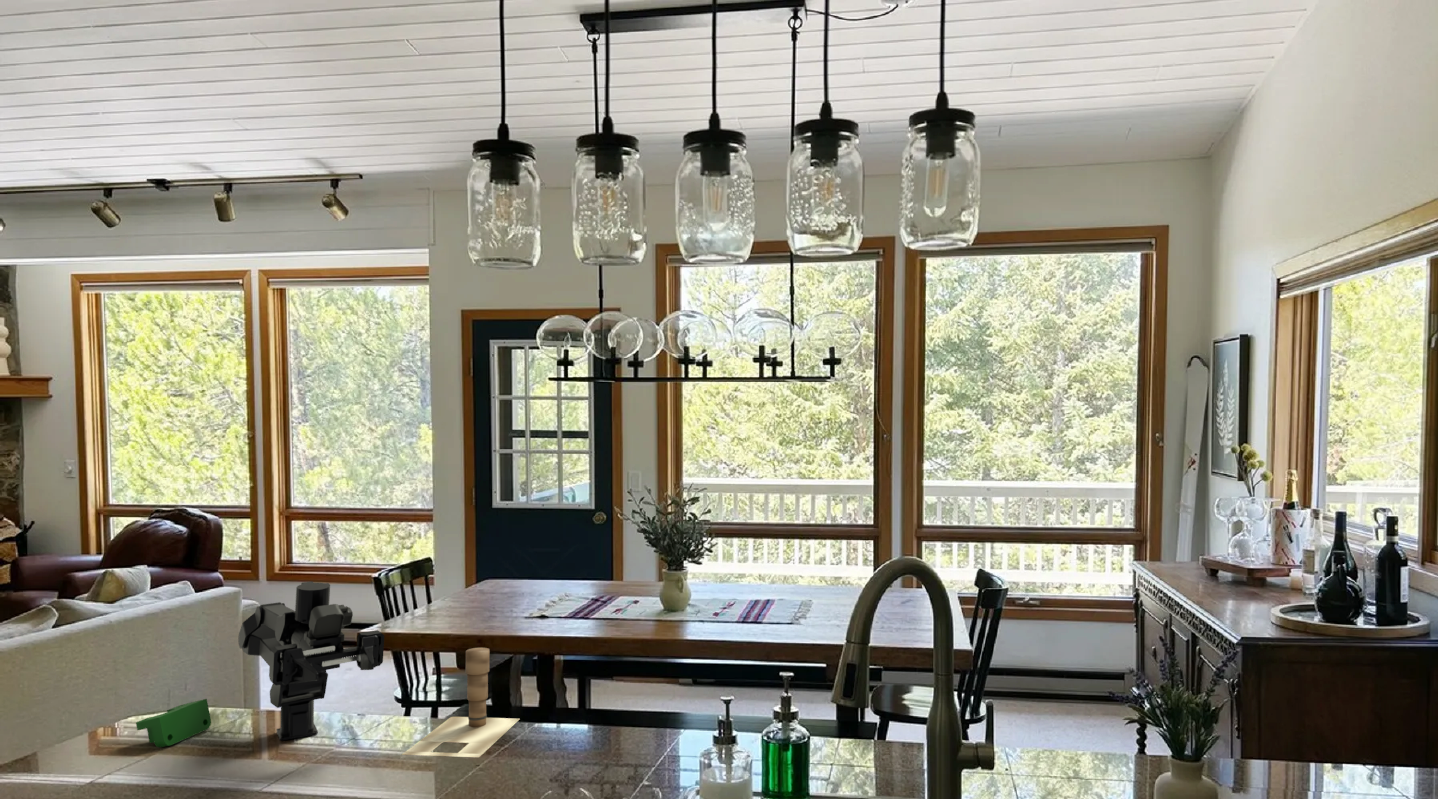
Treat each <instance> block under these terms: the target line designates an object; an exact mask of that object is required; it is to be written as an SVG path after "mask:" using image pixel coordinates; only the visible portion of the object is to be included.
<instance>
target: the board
mask: <svg viewBox="0 0 1438 799" xmlns="http://www.w3.org/2000/svg"><path fill="white" fill-rule="evenodd" d="M519 720H521V719H520V718H510V717H508V718H506V717H486V725H484V726H482V727H470V726H469V719H468V716H450V717H449V718H448V719H447V720H445V721H444V722H443V723H441V724H439V725H438V726H437V727H436V728H434V729H433V730H432V731H431V732H429V733H428V734H427V735H426V736H424V737H422V738H421V739H420V740H419V741H417V742H416V743H415V744H413V745H412V746H410V748H408V749H407V750H406V751H404V752H403V753H402V754H401V755H403V756H421V757H422V756H423V757H424V756H425V757H427V756H428V757H452V758H454V757H455V758H475V759H476V758H477V759H478V758H479V759H480V757H482V755H483V754H485V753H486V752H487V751H488V750H489V749H490V748H491V747H492V746H493V745H494V744H495V743H496V742H497V741H498V740H499V739H500V738H501V737H502V736H504V735H505V734H506V733H507V732H508V731H509V730H510V729H511V728H512V727H513V726H514V725H515V724H516V723H517V722H519ZM442 743H452V744H453V743H455V744H456V743H458V744H459V743H460V744H466V745H465V746H464V747H462V748H461V750H459V751H458V752H434V750H435V749H436V748H438V747H439V746H440V745H441V744H442ZM480 765H481V764H478V765H475V767H479V766H480Z"/></svg>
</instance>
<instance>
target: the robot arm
mask: <svg viewBox="0 0 1438 799" xmlns="http://www.w3.org/2000/svg"><path fill="white" fill-rule="evenodd" d="M330 596H331V583H328V582H326V583H324V582H314V581H304V582H301V584H299V585H297V586H296V589H295V606H294V607H295V608H294V609H292V608H290V607H287V606H286V605H285V603H284V602H283V603H282V602H280V601H279V602H270V603H264V604H263V603H262V604H260V605H258V606H257V607H256V608H255V611H254V613H253V614H252V615H250V616H249V617H248V618H246V619H245V620H244V621H243V622H242V624H241V626H240V629H239V632H238V639H237V640H238V647H239V649H242V652H243V653H244V654H245V655H248V656H255V657H258V656H259V657H261V658H262V659H263V660H264V662H265V663H266V664H267V665H268V666H269V672H268V677H269V681H270V682H271V683H272V685H271V687H270V689H269V700H270V704H271V705H273V706H274V707H275V708H276V709H279V708H280V727H279V728H276V734H277V737H278V738H279V741H287V740H292V739H298V738H299V739H300V738H302V737H303V738H304V737H308V736H309V737H310V736H315V735H318V733H319V731H318V728H317V727H316V725H315V722H314V720H315V719H314V718H315V716H314V715H315V700H319V699H322V700H323V699H325V694H326V690H327V683H328V678H329V673H328V672H327V671H328V670H334V669H338V668H340V667H341V664H345V663H351V662H356V665H357V667H358V668H359V669H360V671H373V670H374V668H376V667H380V666H381V665H382V664H383V661H384V649H385V634H384V633H383V632H381V631H380V630H378V629H377V630H376V629H375V630H371V631H364V632H359V633H358V634H357V638H356V646H351V647H347V648H344V646H343V644H342V642H344V641H345V633H343V632H342V630H343V629H344V628H345V627H346V626H349V625H351V624H352V622H353V621H352V620H353V614H354V613H353V611H352V609H351V607H350V606H349V607H348V606H345V605H344V604H337V603H332V604H330Z"/></svg>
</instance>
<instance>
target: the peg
mask: <svg viewBox="0 0 1438 799" xmlns="http://www.w3.org/2000/svg"><path fill="white" fill-rule="evenodd" d="M489 672H490V648H487V647H473V648H468V649H467V650H465V674H467V676H466V680H467V681H466V688H467V689H466V693H467V694H466V696H467V697H466V700H468V716H467V717H468V719H469V726H470V727H482V726H484V725H486V718H488V716H487V715H488V714H487V699H488V697H489V684H488V683H489Z"/></svg>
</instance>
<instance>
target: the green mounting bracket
mask: <svg viewBox="0 0 1438 799" xmlns="http://www.w3.org/2000/svg"><path fill="white" fill-rule="evenodd" d="M135 725H136V730H137V731H140V730H145V729H146V731H147V737H148V742H149V743H150V744H151V743H154V745H155V746H156V747H157V748H160V747H161V748H164V747H169V746H173V745H174V744H177V743H179V742H181V741H184V740H186V739H188V738H190V737H193V736H195V735H197V734H200V733H202V732H205V731H206V730H208V729H210V727H211V725H212V717H211V714H210V709H209V703H208V699H207V698H204V699H199V700H195V701H191V702H187V703H184V704H180V705H178V706H175V707H172V708H168V709H167V710H166V712H164V713H160V714H157V715H154V716H151V717H150V716H149V717H146V718H144V719H141V720H139V721H137V722H135Z"/></svg>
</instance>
